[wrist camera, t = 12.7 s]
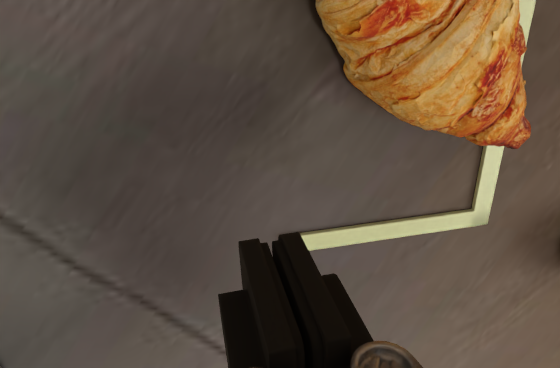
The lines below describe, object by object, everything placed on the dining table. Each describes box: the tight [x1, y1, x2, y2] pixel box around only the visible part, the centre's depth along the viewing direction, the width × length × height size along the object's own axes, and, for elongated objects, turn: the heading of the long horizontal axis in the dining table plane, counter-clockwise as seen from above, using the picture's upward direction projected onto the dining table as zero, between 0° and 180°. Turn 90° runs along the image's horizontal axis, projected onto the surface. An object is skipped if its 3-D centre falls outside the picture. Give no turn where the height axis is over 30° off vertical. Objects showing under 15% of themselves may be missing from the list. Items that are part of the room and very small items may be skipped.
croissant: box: [315, 0, 531, 149], centre depth 26 cm, size 21×10×8 cm
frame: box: [300, 0, 536, 251], centre depth 29 cm, size 17×28×1 cm, turn 3°
